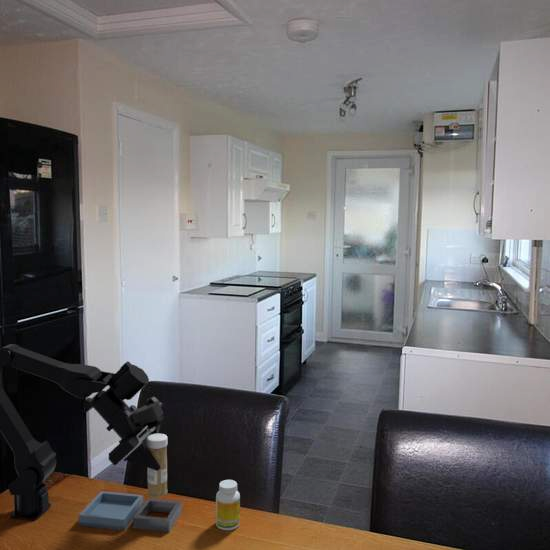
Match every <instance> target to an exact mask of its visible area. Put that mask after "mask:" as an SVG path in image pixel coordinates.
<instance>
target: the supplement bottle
mask: <svg viewBox="0 0 550 550" xmlns="http://www.w3.org/2000/svg"><path fill="white" fill-rule="evenodd" d="M218 489H219V490H218V491H217V492H216V495H215V525H216V527H217V529H220V530H223V531H232V530H234V529H237V528H239V526H240V521H241V512H240V511H241V510H240V509H241V495H240V494H241V493H240V492H239V490H238V483H237V481H235V480H233V479H225V480H221V481H220V482H219V485H218Z"/></svg>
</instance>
